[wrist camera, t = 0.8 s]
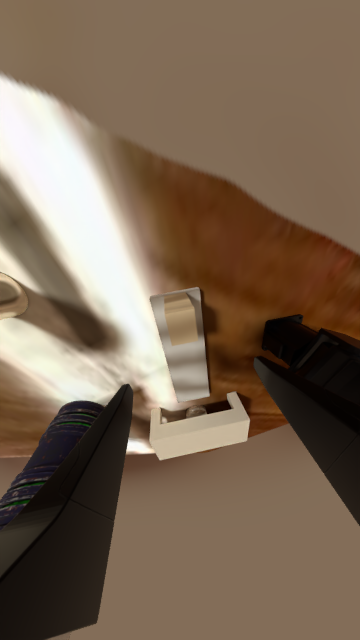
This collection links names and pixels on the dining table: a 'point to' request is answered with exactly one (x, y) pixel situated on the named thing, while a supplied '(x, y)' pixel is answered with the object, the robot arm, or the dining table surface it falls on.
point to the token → (195, 411)
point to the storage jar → (48, 455)
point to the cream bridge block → (199, 431)
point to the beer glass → (11, 298)
